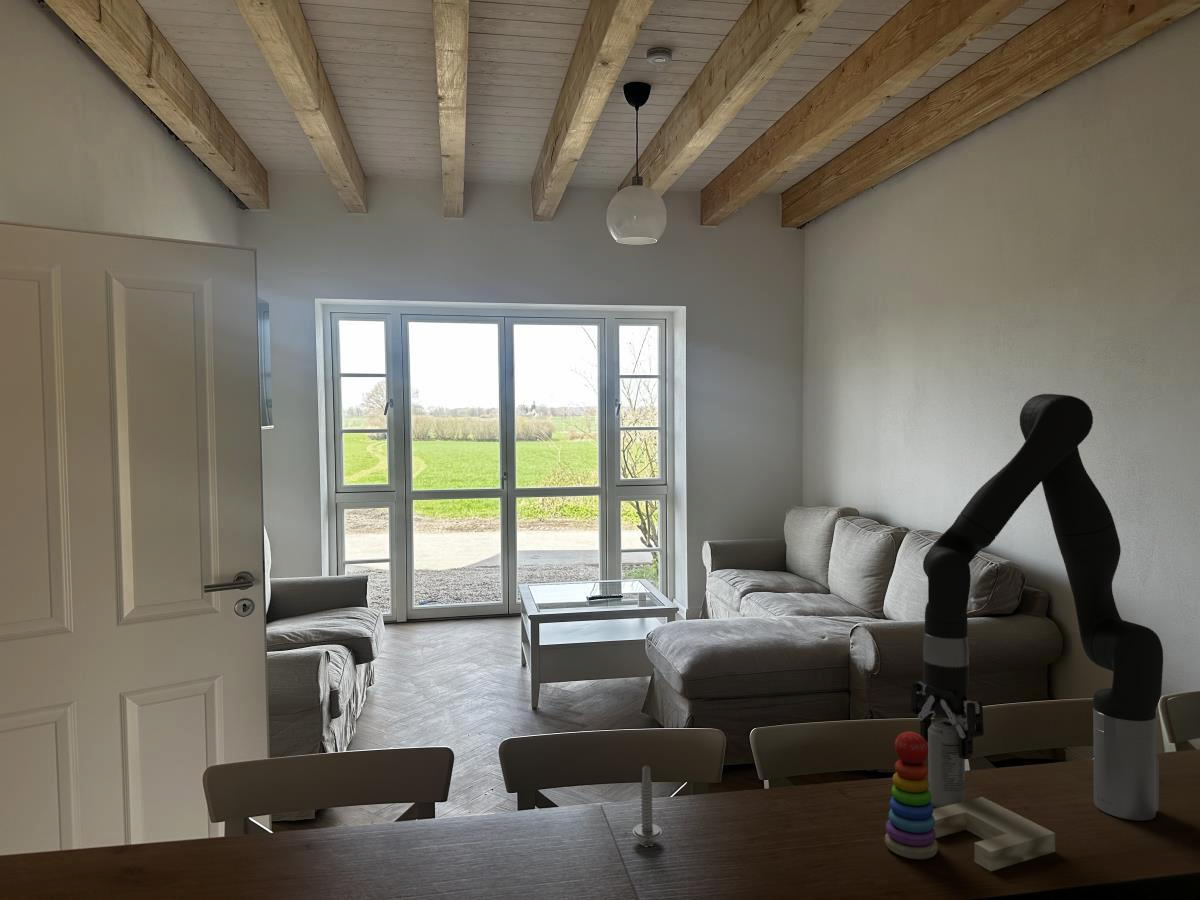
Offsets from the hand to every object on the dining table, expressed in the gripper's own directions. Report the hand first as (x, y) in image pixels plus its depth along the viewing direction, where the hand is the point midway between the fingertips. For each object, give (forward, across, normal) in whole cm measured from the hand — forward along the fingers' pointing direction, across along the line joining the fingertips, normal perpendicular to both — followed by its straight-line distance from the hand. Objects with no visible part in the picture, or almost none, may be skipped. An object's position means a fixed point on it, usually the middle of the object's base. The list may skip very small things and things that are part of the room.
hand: (945, 749), depth 142 cm
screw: (+11, +10, +54) cm, 57 cm away
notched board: (+10, -12, +4) cm, 16 cm away
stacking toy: (+11, -9, +17) cm, 22 cm away
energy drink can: (+10, 0, 0) cm, 10 cm away
